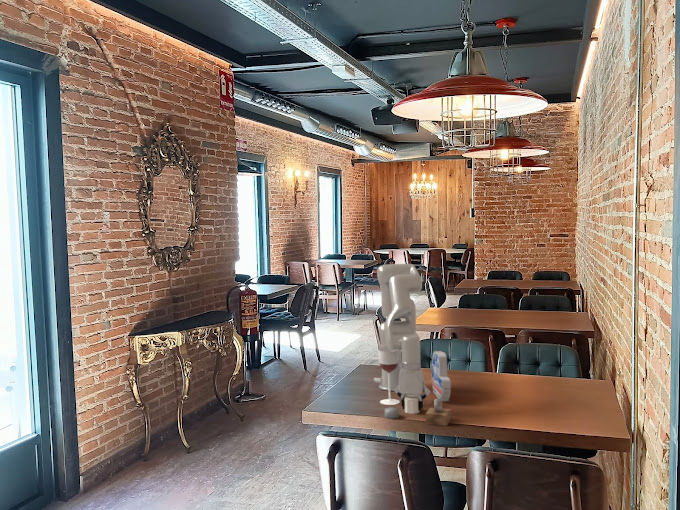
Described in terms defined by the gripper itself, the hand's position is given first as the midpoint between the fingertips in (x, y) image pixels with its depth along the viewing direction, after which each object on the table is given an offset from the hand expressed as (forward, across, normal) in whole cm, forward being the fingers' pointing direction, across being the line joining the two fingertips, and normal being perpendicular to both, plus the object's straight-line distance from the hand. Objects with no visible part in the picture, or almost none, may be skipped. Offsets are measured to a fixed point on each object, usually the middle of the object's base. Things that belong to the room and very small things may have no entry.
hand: (412, 408), depth 236 cm
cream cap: (+1, 0, 0) cm, 1 cm away
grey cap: (+1, -6, -9) cm, 11 cm away
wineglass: (+1, -13, +10) cm, 16 cm away
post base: (+1, +13, -9) cm, 16 cm away
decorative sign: (+1, +6, +25) cm, 26 cm away
